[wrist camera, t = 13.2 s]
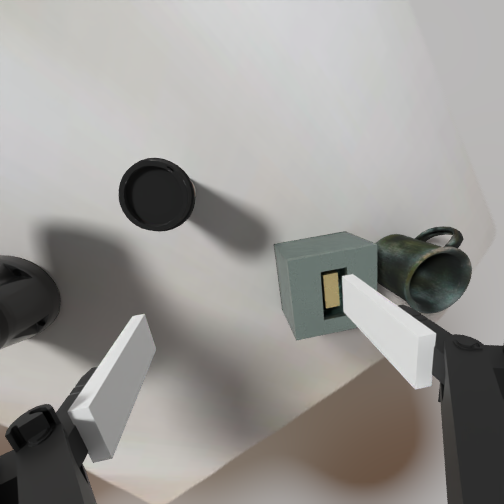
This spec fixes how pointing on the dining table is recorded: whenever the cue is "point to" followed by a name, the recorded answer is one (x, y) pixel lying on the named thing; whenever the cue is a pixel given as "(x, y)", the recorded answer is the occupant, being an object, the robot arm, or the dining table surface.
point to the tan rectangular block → (330, 288)
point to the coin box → (309, 279)
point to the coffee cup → (156, 194)
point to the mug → (424, 269)
